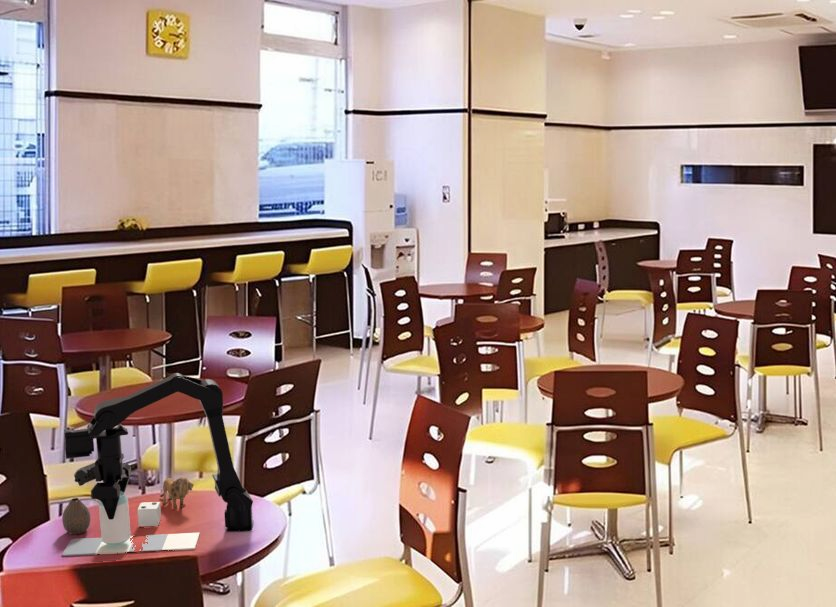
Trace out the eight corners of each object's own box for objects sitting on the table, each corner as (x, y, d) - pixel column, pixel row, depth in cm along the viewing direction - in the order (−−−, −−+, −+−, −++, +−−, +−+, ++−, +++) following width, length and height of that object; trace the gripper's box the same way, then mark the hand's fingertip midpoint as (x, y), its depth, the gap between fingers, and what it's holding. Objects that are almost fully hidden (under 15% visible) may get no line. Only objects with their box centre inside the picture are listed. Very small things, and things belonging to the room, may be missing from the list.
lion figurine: (197, 508, 283) (195, 476, 281) (180, 513, 279) (178, 481, 278) (168, 495, 293) (166, 465, 292) (151, 500, 289) (149, 470, 288)
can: (104, 548, 253) (100, 501, 251) (99, 538, 259) (95, 492, 257) (133, 542, 256) (129, 496, 254) (128, 533, 262) (124, 487, 260)
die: (161, 519, 275) (160, 501, 274) (158, 526, 270) (157, 507, 269) (142, 520, 274) (140, 502, 273) (138, 527, 269) (137, 508, 269)
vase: (83, 524, 272) (81, 492, 271) (96, 531, 268) (93, 499, 266) (58, 532, 268) (55, 499, 266) (71, 539, 263) (68, 506, 261)
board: (199, 533, 264) (199, 532, 264) (194, 549, 255) (194, 547, 254) (71, 540, 262) (71, 539, 262) (61, 556, 252) (61, 554, 252)
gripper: (84, 443, 262) (89, 502, 265) (66, 467, 244) (71, 529, 247) (129, 441, 263) (133, 499, 266) (114, 464, 245) (119, 527, 248)
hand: (114, 513), depth 256 cm, fingers closed on can, 7 cm apart
